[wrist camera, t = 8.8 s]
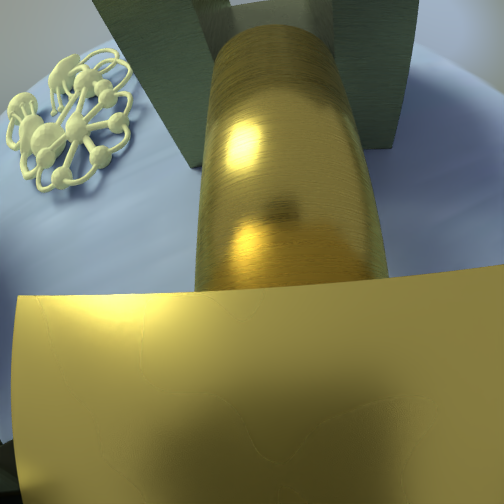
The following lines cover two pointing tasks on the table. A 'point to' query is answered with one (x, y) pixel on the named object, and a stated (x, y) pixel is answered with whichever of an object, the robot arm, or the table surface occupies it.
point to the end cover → (270, 333)
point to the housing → (252, 15)
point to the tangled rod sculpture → (69, 120)
